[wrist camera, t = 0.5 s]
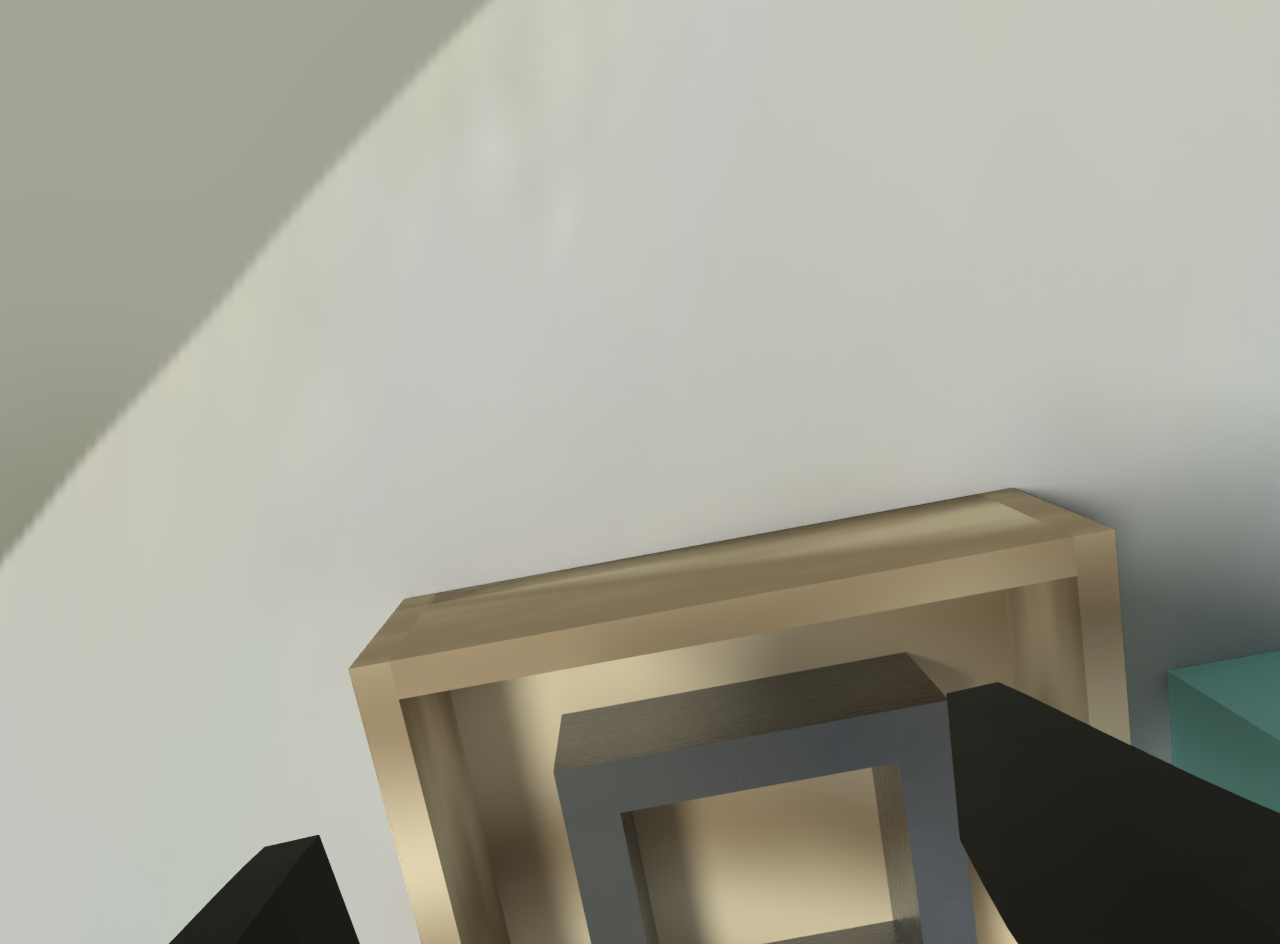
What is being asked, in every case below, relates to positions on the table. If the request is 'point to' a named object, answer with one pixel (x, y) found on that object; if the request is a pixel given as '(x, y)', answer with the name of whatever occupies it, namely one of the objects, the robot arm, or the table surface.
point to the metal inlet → (764, 756)
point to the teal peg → (1229, 724)
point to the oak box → (703, 658)
